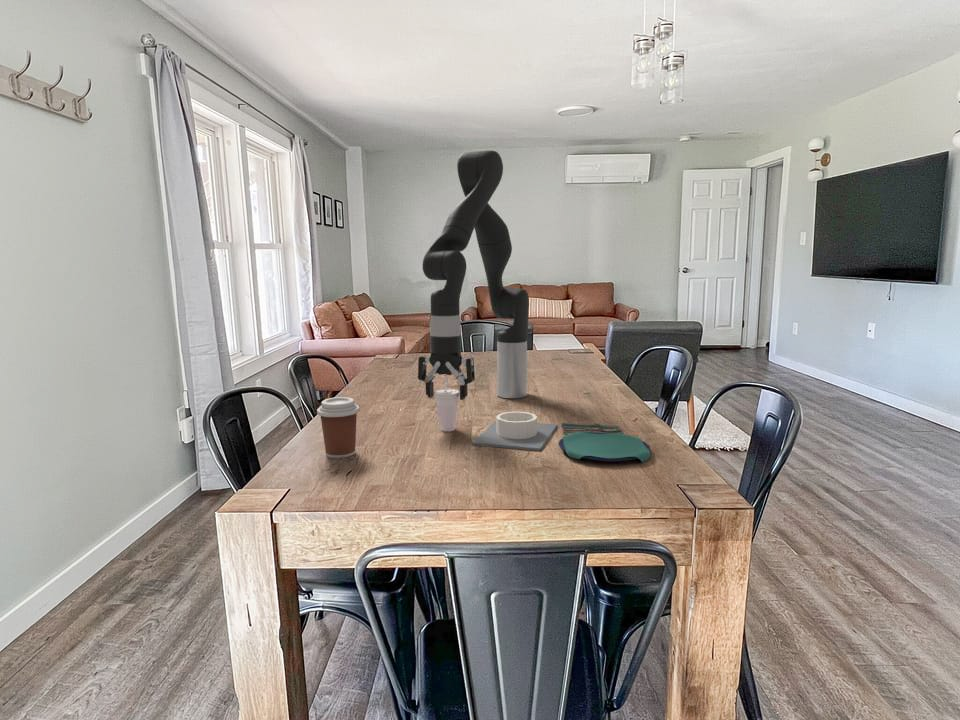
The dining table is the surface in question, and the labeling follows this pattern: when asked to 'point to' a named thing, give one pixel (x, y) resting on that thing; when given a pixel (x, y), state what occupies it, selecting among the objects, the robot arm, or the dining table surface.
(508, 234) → the robot arm
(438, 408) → the smoothie
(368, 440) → the dining table surface
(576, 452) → the cutlery set
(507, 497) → the dining table surface
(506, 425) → the sleeve stand
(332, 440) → the coffee cup
